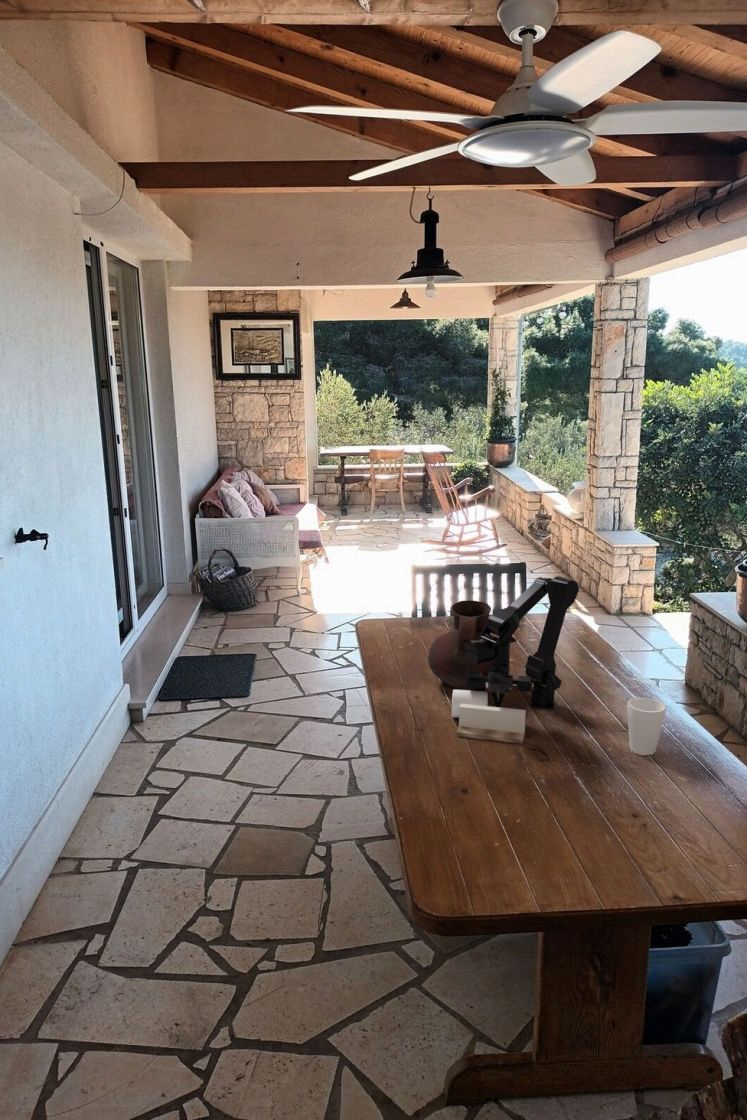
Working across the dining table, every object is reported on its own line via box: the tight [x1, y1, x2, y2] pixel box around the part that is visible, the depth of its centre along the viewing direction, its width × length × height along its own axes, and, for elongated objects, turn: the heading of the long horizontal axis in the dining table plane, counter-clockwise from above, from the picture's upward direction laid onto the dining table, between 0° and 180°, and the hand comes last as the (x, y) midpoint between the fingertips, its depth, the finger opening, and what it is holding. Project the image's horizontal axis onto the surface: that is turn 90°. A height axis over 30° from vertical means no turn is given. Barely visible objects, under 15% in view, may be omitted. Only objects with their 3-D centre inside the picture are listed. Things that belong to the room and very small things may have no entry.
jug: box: [427, 599, 492, 690], centre depth 249 cm, size 25×25×25 cm
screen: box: [456, 704, 527, 745], centre depth 215 cm, size 18×6×7 cm, turn 75°
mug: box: [451, 689, 489, 719], centre depth 228 cm, size 12×10×8 cm
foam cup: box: [626, 697, 667, 756], centre depth 205 cm, size 10×9×13 cm
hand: (497, 709), depth 226 cm, fingers closed
